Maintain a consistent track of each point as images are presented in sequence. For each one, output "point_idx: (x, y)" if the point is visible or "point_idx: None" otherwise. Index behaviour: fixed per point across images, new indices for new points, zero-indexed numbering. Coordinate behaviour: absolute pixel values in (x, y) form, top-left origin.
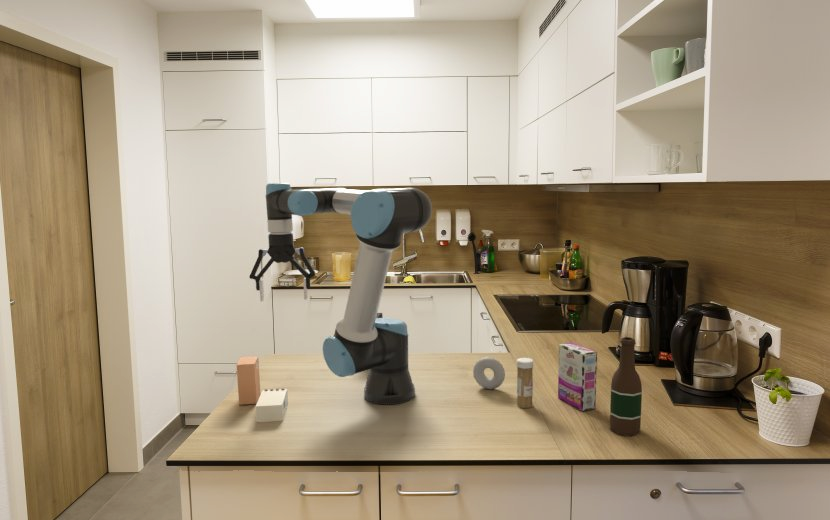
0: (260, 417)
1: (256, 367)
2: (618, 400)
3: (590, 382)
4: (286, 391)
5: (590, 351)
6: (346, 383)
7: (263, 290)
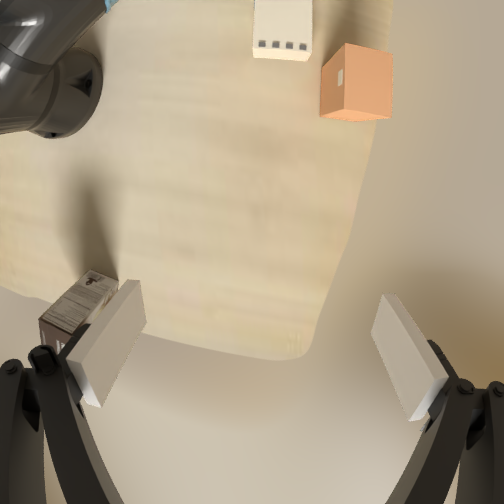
0: None
1: (339, 71)
2: None
3: None
4: (253, 35)
5: None
6: (133, 158)
7: (388, 363)
